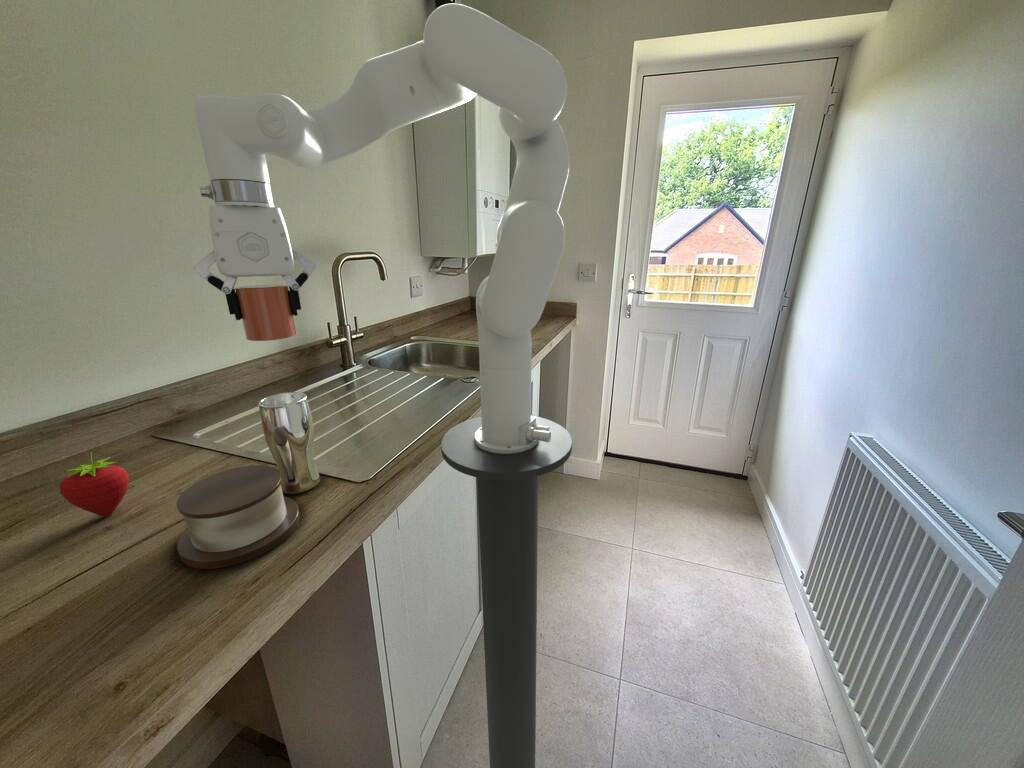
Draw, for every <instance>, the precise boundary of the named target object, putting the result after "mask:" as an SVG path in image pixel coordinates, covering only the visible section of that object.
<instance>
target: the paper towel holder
mask: <svg viewBox="0 0 1024 768" xmlns="http://www.w3.org/2000/svg"><path fill="white" fill-rule="evenodd" d="M281 482H282V476H281V473H280V472H279V470H278V468H276V467H274V466H269V465H264V464H263V465H261V464H259V465H257V464H256V465H255V464H254V465H245V466H239V467H234V468H230V469H226V470H223V471H219V472H217V473H214V474H211V475H208V476H206V477H204V478H202V479H201V480H199V481H197V482H195V483H193V484H191V486H189V487H187V488H186V489H185V490H184V491H183V492H181V493H180V495H179V497H178V498H177V500H176V509H177V511H178V513H179V514H181V515H182V517H183V520H184V523H185V527H186V529H185V530H184V531H183V532H182V533H181V535H180V537H179V538H178V540H177V544H176V550H177V553H178V555H179V558H180V560H181V561H182V563H183V564H185V565H187V567H188V566H189V567H190V568H194V569H201V570H214V569H215V570H216V569H222V568H223V569H224V568H229V567H232V566H236V565H239V564H240V565H241V564H242V563H246V562H248V561H250V560H254V559H256V558H258V557H260V556H262V555H264V554H266V553H268V552H269V551H271V550H273V549H274V548H277V547H278V546H279V545H280V544H281V543H283V542H285V540H286V539H287V538H289V536H291V535H292V533H294V531H295V529H296V528H297V527H298V524H299V522H300V520H301V519H300V517H301V515H300V510H299V506H298V504H297V502H296V501H295V500H294V499H292V498H290V497H288V496H285V495H284V493H283V492H282V488H281Z"/></svg>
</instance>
